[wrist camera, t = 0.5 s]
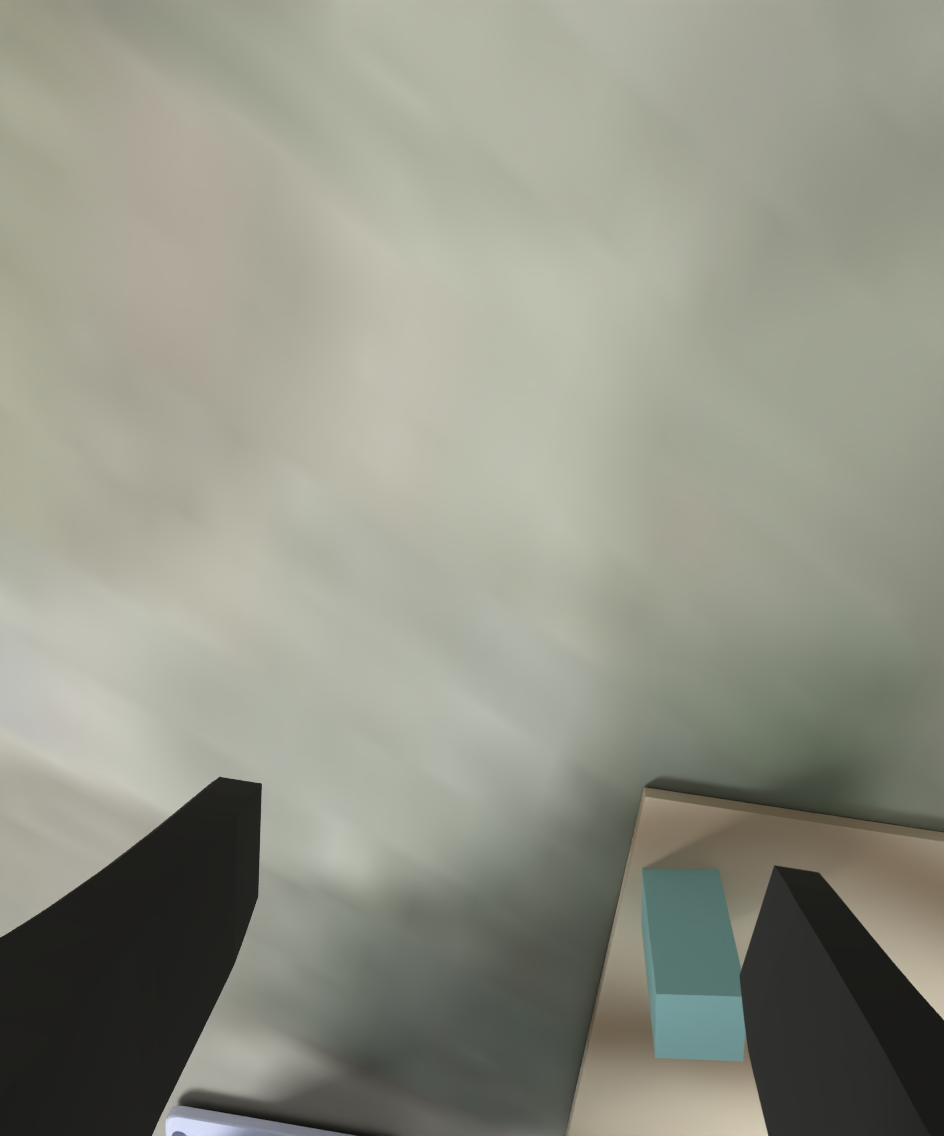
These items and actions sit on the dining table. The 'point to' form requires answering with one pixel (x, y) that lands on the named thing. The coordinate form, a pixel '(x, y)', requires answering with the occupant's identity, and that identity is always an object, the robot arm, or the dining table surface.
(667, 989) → the post
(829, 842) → the board
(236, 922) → the robot arm
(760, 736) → the dining table surface
